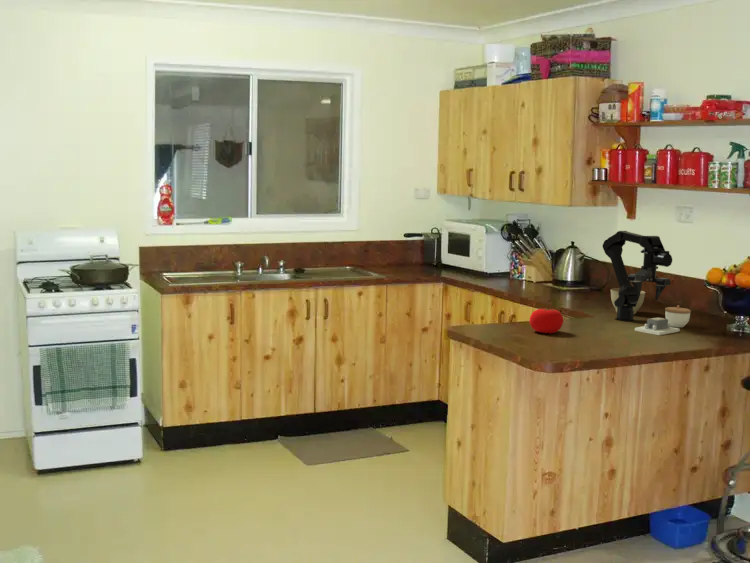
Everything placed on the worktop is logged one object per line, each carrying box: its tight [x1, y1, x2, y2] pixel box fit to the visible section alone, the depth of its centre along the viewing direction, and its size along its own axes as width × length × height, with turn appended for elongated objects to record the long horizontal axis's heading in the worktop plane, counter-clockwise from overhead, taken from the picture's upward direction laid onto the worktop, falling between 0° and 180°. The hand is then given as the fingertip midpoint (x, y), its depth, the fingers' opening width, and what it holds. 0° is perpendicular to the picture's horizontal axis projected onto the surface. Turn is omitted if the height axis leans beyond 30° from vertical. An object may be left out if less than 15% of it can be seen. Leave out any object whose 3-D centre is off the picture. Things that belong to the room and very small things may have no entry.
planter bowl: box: [610, 287, 646, 315], centre depth 440 cm, size 16×16×11 cm
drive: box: [646, 317, 668, 330], centre depth 395 cm, size 5×8×4 cm, turn 128°
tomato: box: [528, 307, 564, 335], centre depth 383 cm, size 14×13×10 cm
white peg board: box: [634, 323, 681, 336], centre depth 395 cm, size 12×16×3 cm
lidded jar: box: [664, 304, 692, 328], centre depth 409 cm, size 11×11×9 cm
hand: (647, 298), depth 407 cm, fingers open, 9 cm apart
